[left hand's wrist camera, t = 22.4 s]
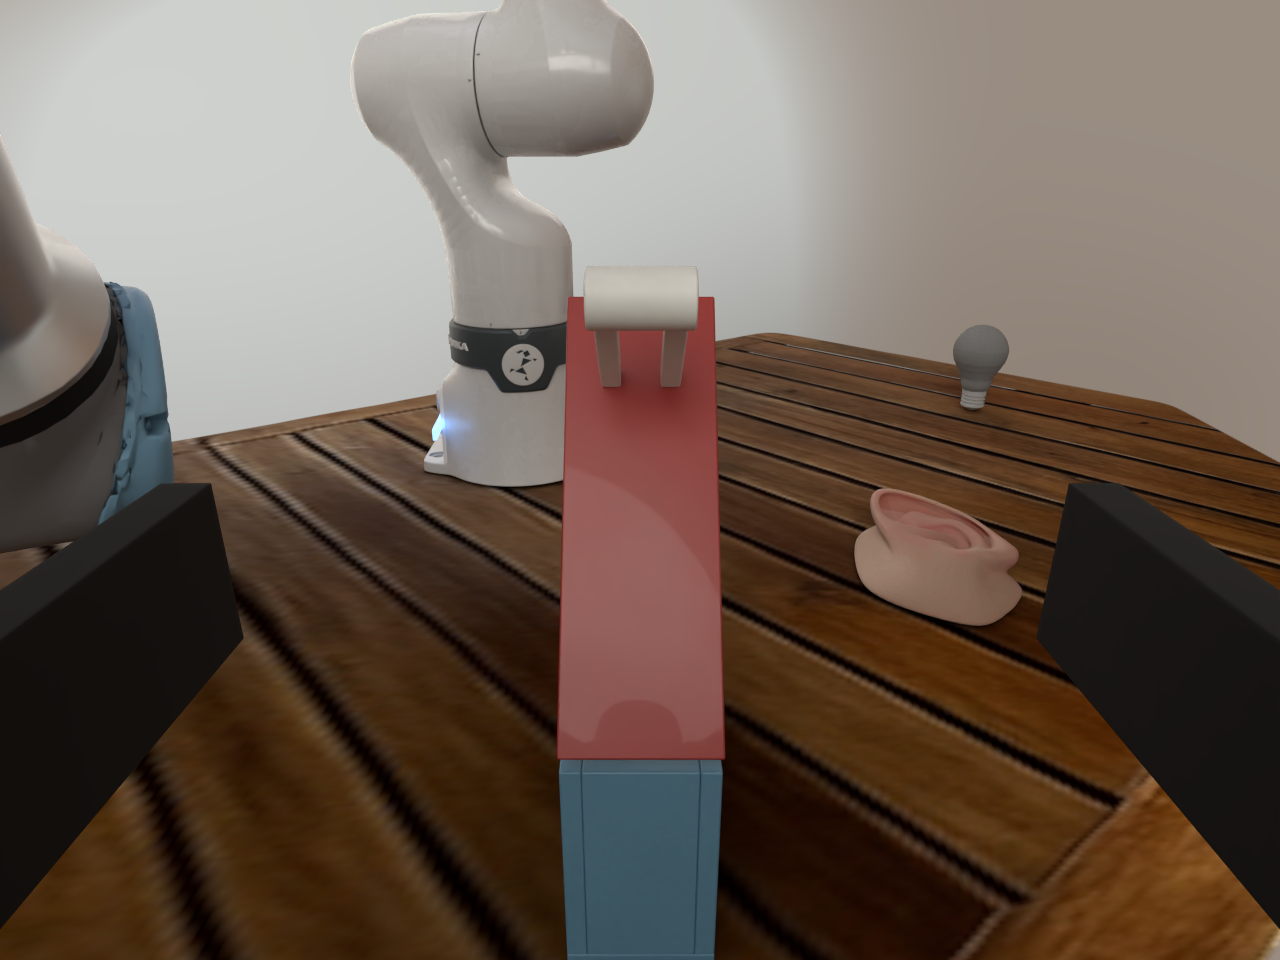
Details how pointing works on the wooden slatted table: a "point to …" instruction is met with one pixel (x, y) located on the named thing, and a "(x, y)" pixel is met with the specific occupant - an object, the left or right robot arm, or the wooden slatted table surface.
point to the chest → (640, 858)
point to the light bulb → (979, 362)
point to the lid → (640, 522)
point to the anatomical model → (936, 560)
